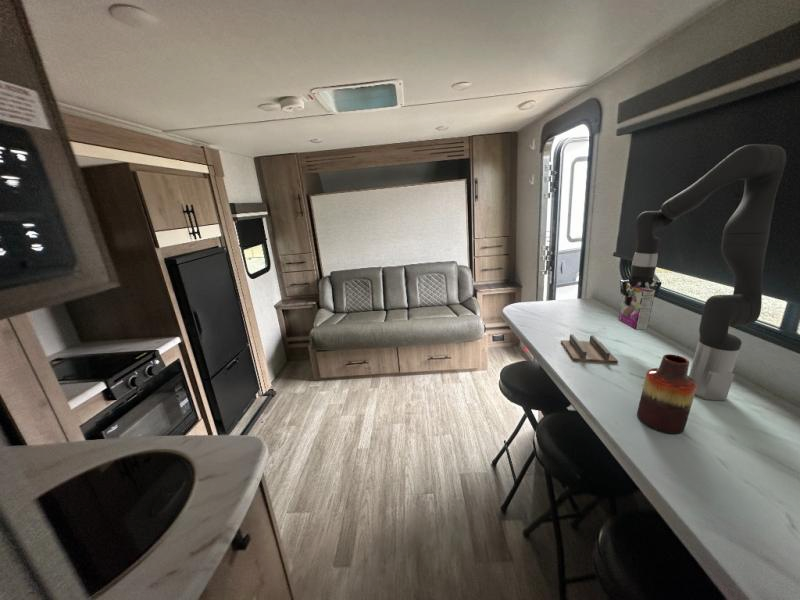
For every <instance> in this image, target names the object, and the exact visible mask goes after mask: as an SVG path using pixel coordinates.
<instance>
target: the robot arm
mask: <svg viewBox="0 0 800 600" xmlns="http://www.w3.org/2000/svg"><path fill="white" fill-rule="evenodd" d="M786 163H787V152H786V151H785V149H784V148H783V147H782V146H780V145H778V144H763V143H754V144H753V143H752V144H751V143H750V144H746V145H744V146H741V147H739V148H737V149H735V150H734V151H733V152H731V153H730V154H729V155H727V156H726V157H725V158H724V159H722V160H721V161H720V162H719V163H718V164H716V165H715V166H714V167H713V168H712V169H710V170H709V171H708V172H707V173H706V174H704V175H703V176H702V177H700V178H699V179H698V180H697V181H695V182H694V183H693V184H691V185H690V186H688V187H687V188H685V189H684V190H682V191H680V192H679V193H677V194H676V195H673V196H672V197H671V198H669V199H667V200H666V201H665V202H663V203H662V205H661V208H660V209H659V210H648V211H647V210H646V211H643V212H641V213H640V214H639V215H638V216H637V218H636V220H635V224H634V225H635V227H634V229H635V235H636V246H635V250H634V251H635V252H634V255H633V258H632V262H631V266H630V267H631V269H630V273H629V274H630V276H629V277H628V279H625V280H624V279H620V281H619V288H620V289H619V290H620V294H621V295H622V296H623V295H624V296H625V301H624V303H625V304H626V305H627V306H630V303H631V296H632V294H633V293H634V292H635V289H636V288H638V287H643V288H650V286H651V285H652V287H651V289H652V290H655V295H654V297H656V296H657V295H658V292H659V291H660V289H661V286H662V281H660V280H654V277H655V273H656V269H657V264H658V256H659V255H658V254H659V249H660V244H661V240H660V238H659V237H657V236H654V231H659V230H660V231H661V230H663V229H666V228H668V227H669V226H671V225H672V224H673V223H674V222H675V221H676V220H678V218H680V217H682V216H684V215H685V214H687V213H689V212H691V211H693V210H695V209H696V208H698V207H699V206H701V205H702V204H703V203H705V202H706V200H707V199H708V198H709V197H710V196H711V195H712V194H713V193H714V192H715V191H716V192H717V190H719V189H721V188H722V187H724V186H726V185H729V184H732V183H734V182H737V181H744V187H743V194H742V195H743V196H742V198H741V201H740V203H739V205H738V206H737V208H736V210H735V211H734V212H733V214H732V215H731V216H730V218H729V219H728V220H727V222H726V224H725V226H724V229H723V233H722V239H721V245H720V252H721V254H722V255H721V256H722V257H723V259H724V261H725V263H726V264H727V266H728V268H729V269H730V271H731V273H732V275H733V280H734V283H733V287H734V288H733V293H732V294H716V295H715V294H714V295H712V296H710V297H708V299H706V301H705V303H704V305H703V308H702V312H701V316H700V317H701V318H700V323H699V328H698V329H699V330H698V332H699V338H698V339H699V340H698V342H697V346H696V349H695V353H694V356H693V360H692V362H691V367H690V370H689V374H688V376H689V377H691V378H692V379H694V381H695V382H696V384H697V388H696V391H695V395H694V396H697V397H700V398H701V399H703V400H707V401H709V400H711V401H721V402H722V401H723V402H724V401H725V402H726V401H727V398H728V396H729V392H730V389H731V386H732V383H733V380H734V377H735V374H734V373H733V370H734V368H735V365H736V361H737V359H738V356H739V352H740V350H741V347H742V340H741V338H739V337H737V335H733V334H731V333H729V327H730V326H751V325H753V324H754V323H756V322H757V320H758V319H759V317H760V316H761V311H762V305H763V304H762V303H763V301H762V300H763V299H762V298H763V293H762V292H763V291H762V290H763V274H764V266H765V259H766V252H767V248H768V244H769V238H770V232H771V222H772V219H773V218H772V217H773V212H774V208H775V207H774V206H775V201H776V197H777V193H778V190H779V185H780V183H781V180H782V177H783V173H784V170H785V167H786ZM628 284H630V286H629V288H628V290H627V288H626V286H627V285H628ZM630 287H632V288H633V289H631V288H630Z"/></svg>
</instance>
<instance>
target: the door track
mask: <svg viewBox="0 0 800 600" xmlns="http://www.w3.org/2000/svg"><path fill="white" fill-rule="evenodd" d="M560 343H562V344H561V345H562V346H564V347H563V348H564V349H566V350H565V351H566V353H567V352H568V353H567V354H568V356H569V355H570V356H569V358H570V359H571V360H572V361H573V362H582V361H585V362H586V363H600V364H601V363H603V364H614V365H615V364H618V363H619V360H618V359H617V358H616V357H615V356H614V355H613V354H612V352H610V351H609V349H608V348H607V347H606V346H605V345H604V344H603V343H602V342H601V341H599V340H598V339H597V338H596V337H595V336H594V335H591V334H590V336H589V341H588V340H587V341H586V340H585V341H584V340H578V339H577V338H576V336H575V334H571V333H570V334H569V340H567V339H561V340H560ZM585 362H584V363H585Z"/></svg>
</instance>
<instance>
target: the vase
mask: <svg viewBox="0 0 800 600" xmlns="http://www.w3.org/2000/svg"><path fill="white" fill-rule="evenodd" d="M689 365H690V361H689V359H687V358H685V357H683V356H681V355H677V354H667V353H666V354H664V355H663V356H662V359H661V362H660V364H659V367H652V368H649V369H648V370H647V371H646V374H645V378H644V382H643V385H642V386H643V387H642V391H641V395H640V400H639V403H638V407H637V412H636V416H637V418H638V420H639V421H640V422H641V423H642V424H643V425H644V426H646V427H647V428H649V429H651V430H653V431H656V432H659V433H663V434H665V435H680V434H682V433H683V432H684V431H685V428H686V425H687V422H688V419H689V414H690V412H691V408H692V405H693V401H694V399H695V398H694V397H695V396H696V395H695V391H696V388H697V384H696V382H695V381H694V379H692V378H691V377H689V374H688V372H689V367H690V366H689Z"/></svg>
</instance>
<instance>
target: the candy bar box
mask: <svg viewBox="0 0 800 600" xmlns="http://www.w3.org/2000/svg"><path fill="white" fill-rule="evenodd" d="M629 286H630V284H629V283H628V285H627V286H626V288H627V290H628V288H629ZM630 288H631V289H633V288H632V287H630ZM654 295H655V290H652V288H650V287H649V288H643V287H638V288H636V289H635V292H634V293H633V294H632V296H631V303H630V306H627V305H626V304H625V303H624V301H625V296H624V295H623V294H622V297H621V303H620V308H619V314H618V318H617V319H618V321H619V322H621V323H623V324H624V325H626V326H628V327H630V328H631V329H634V330H635V331H642V330H643V331H644V330H645V331H646V330H648V327H649V323H650V319H651V313H652V309H653V305H654V300H655V299H654V298H655V296H654Z"/></svg>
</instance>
